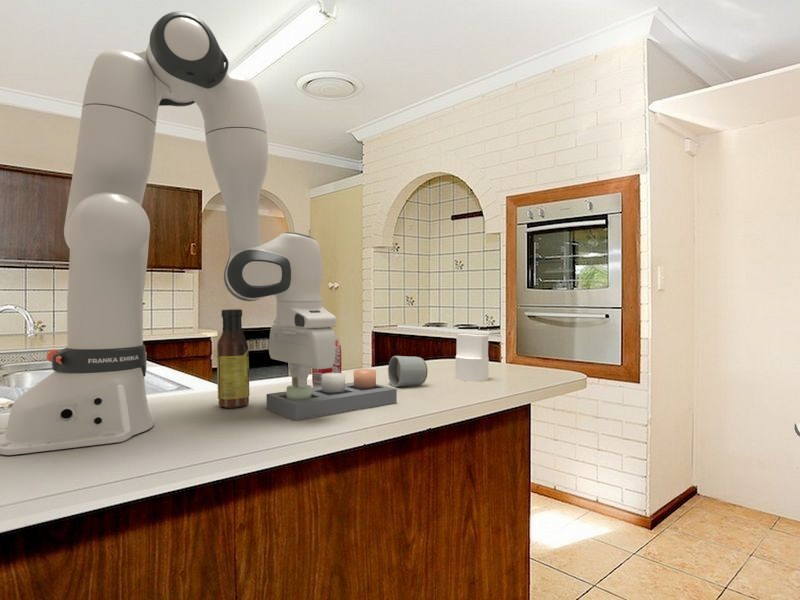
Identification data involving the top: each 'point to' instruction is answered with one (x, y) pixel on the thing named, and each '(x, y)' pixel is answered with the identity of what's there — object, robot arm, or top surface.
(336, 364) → the soda can
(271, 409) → the panel
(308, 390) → the button green
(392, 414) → the top surface
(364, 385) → the button terracotta
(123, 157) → the robot arm
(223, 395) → the sauce bottle
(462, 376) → the base with upright slab
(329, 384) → the button white
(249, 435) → the top surface
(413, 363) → the ceramic mug
